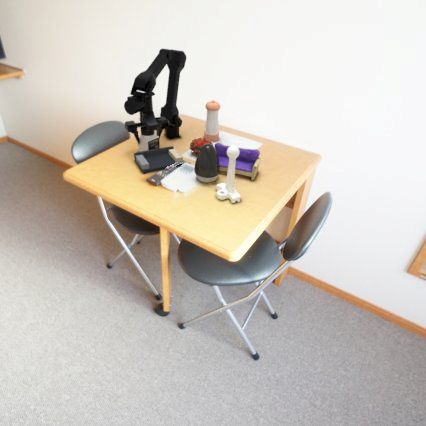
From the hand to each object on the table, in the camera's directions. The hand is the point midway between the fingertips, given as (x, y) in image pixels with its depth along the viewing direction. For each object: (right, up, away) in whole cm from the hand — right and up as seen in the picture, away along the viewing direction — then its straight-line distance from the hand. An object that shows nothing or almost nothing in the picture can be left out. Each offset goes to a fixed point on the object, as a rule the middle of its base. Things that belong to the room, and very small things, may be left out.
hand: (148, 142), depth 145 cm
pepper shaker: (+29, +5, +16) cm, 33 cm away
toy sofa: (+37, -15, -9) cm, 41 cm away
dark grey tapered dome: (+26, -18, -15) cm, 36 cm away
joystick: (+34, -26, -25) cm, 49 cm away
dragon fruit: (+24, -5, +3) cm, 25 cm away
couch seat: (+6, -10, -6) cm, 14 cm away
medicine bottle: (0, -4, +3) cm, 5 cm away
